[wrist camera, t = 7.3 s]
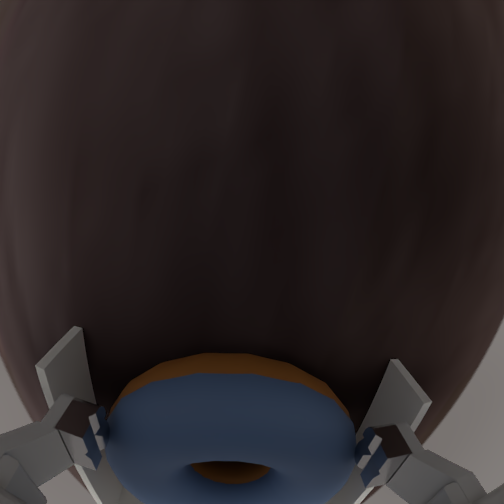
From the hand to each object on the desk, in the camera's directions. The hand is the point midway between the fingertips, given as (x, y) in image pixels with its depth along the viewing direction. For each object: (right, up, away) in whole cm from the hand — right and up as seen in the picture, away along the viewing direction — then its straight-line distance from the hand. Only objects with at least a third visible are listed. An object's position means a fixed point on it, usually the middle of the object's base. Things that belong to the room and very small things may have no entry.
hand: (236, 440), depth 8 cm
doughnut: (0, -2, +4) cm, 4 cm away
